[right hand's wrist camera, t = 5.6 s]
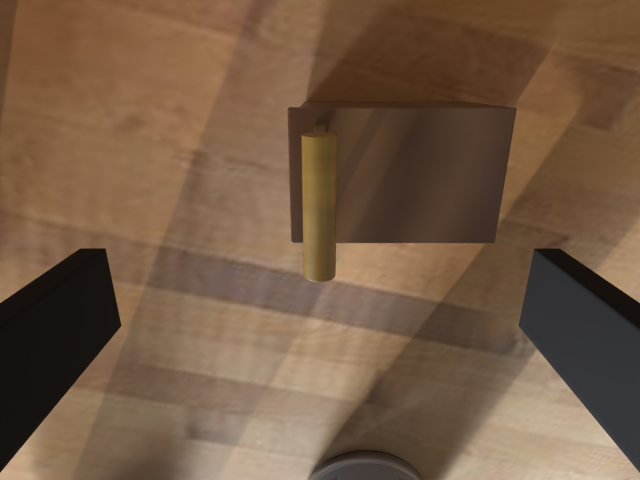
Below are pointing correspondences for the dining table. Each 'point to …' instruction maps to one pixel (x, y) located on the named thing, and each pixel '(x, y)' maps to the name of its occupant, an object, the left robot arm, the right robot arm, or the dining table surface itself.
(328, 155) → the lid
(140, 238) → the dining table surface
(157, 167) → the dining table surface
